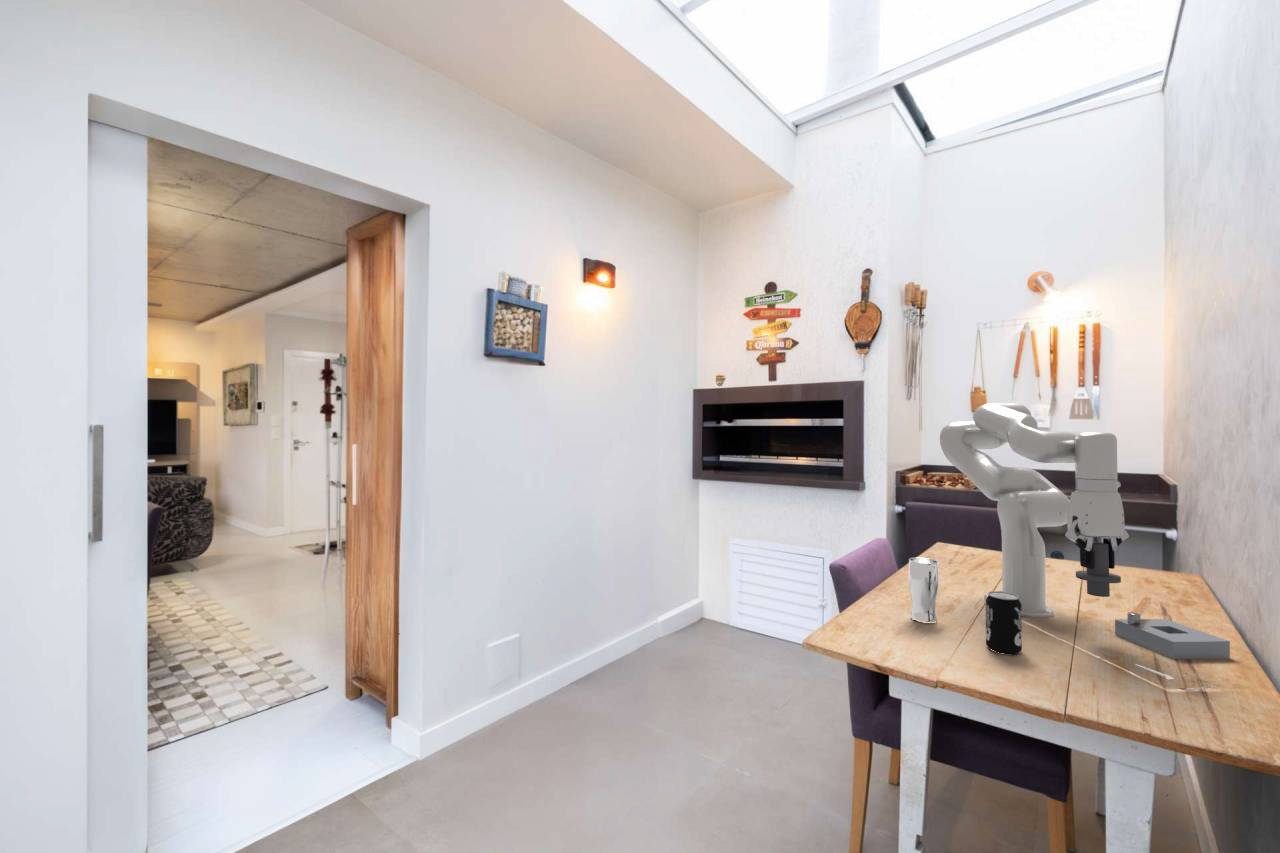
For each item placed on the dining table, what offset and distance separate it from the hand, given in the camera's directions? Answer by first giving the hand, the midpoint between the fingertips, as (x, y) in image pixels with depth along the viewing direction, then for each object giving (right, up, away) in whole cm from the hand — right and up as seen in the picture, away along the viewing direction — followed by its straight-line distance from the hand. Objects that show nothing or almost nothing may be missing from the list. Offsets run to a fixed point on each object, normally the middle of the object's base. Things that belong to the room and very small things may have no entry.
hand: (1097, 566), depth 130 cm
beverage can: (-25, -17, -6) cm, 31 cm away
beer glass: (-32, -17, +14) cm, 39 cm away
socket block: (+12, -17, -5) cm, 21 cm away
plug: (0, -6, 0) cm, 6 cm away
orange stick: (+14, -13, +4) cm, 19 cm away
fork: (-3, -17, -17) cm, 25 cm away
